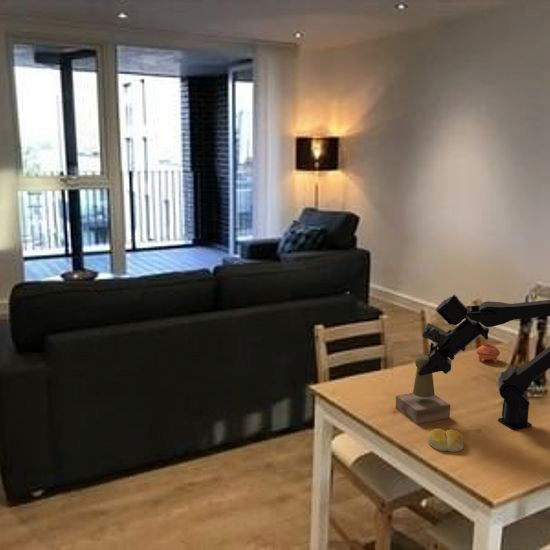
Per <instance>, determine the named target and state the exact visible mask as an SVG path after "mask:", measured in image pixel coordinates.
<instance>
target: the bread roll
mask: <svg viewBox="0 0 550 550" xmlns="http://www.w3.org/2000/svg"><path fill="white" fill-rule="evenodd" d="M427 442H428V443H427V444H428V445H429V446H431V448H432V447H433V449H435V450H437V451H441V452H447V451H448V452H452V453H453V452H454V453H455V452H459V451H461V450H463V449H464V436H463V435H462V433H460V432H459V431H457V430H456V429H448V430H444V429H442V428H434V429H433V430H431V431H430V432H429V433H428V436H427Z"/></svg>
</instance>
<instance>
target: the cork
mask: <svg viewBox="0 0 550 550" xmlns="http://www.w3.org/2000/svg"><path fill="white" fill-rule="evenodd" d="M428 360H429V356H427V355H424V354H423V355H419V356H417V357H415V362H414V364H415V367H416V372H415V379H414V383H413V384H414V385H413V390H412V393H413V394H414V395H416V396H419V397H432V396H434V395H436V394H435V386H434V385H435V384H434V378H433V377H434V375H433V373H430V374H426V375H422V376H420V375H419V374H418V372H419V371H420V369H421V368H422V367H423V366H424V365H425V363H426V362H427V361H428Z"/></svg>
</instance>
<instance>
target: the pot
mask: <svg viewBox="0 0 550 550" xmlns="http://www.w3.org/2000/svg"><path fill="white" fill-rule="evenodd" d="M476 354H477V355H478V360H479V362H482V360H487V361H489V360H493V362H494V364H495V363H497V361H498V357H499V355H500V354H501V353H500V350H499V349H498V347H496V345H495V346H494V343H483V344H482V345H479V347H478V348H477V349H476Z"/></svg>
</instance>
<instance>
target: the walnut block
mask: <svg viewBox="0 0 550 550" xmlns="http://www.w3.org/2000/svg"><path fill="white" fill-rule="evenodd" d="M395 410H397V411H398V412H400V413H401V415H404V416H405V417H406V418H407V419H409V420H410V421H412V422H413V423H414V424H415V425H419V424H423V423H424V424H425V423H429V422H434V421H435V422H436V421H440V420H445V419H449V418H451V404H450V403H449V402H447V401H445V400H444V399H442V398H441V397H439V396H437V395H436V394H434V396H432V397H419V396H416V395H414V394H413V392H411V393H404V394H400V395H398V394H397V395H395Z"/></svg>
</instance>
